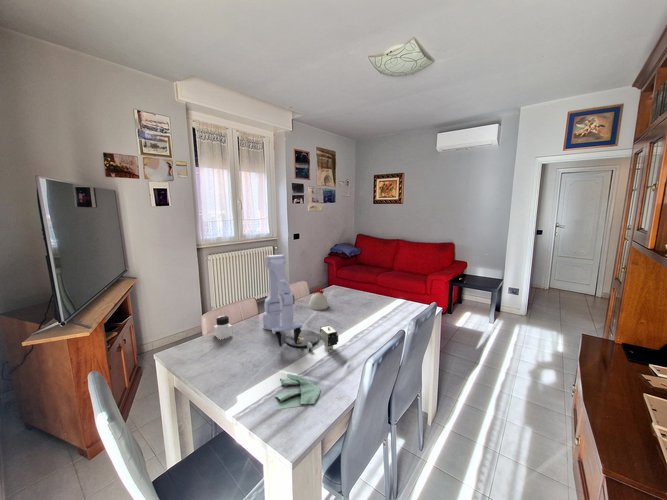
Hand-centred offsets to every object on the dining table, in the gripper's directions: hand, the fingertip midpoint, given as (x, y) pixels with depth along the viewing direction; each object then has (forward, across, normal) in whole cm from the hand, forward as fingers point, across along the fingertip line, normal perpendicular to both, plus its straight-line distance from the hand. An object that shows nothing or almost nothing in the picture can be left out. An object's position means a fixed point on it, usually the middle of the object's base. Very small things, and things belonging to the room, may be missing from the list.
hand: (288, 344), depth 136 cm
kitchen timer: (+3, +35, +48) cm, 60 cm away
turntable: (+3, +9, +7) cm, 12 cm away
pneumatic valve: (+3, +18, -9) cm, 21 cm away
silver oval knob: (+3, +9, -5) cm, 11 cm away
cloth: (+4, -7, -30) cm, 31 cm away
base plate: (+3, +9, +7) cm, 12 cm away
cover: (+1, +6, +7) cm, 9 cm away
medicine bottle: (+3, -28, +27) cm, 39 cm away
